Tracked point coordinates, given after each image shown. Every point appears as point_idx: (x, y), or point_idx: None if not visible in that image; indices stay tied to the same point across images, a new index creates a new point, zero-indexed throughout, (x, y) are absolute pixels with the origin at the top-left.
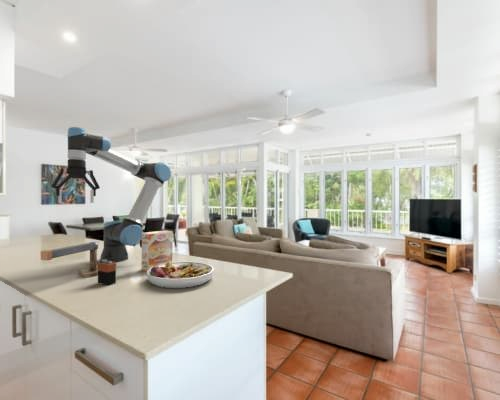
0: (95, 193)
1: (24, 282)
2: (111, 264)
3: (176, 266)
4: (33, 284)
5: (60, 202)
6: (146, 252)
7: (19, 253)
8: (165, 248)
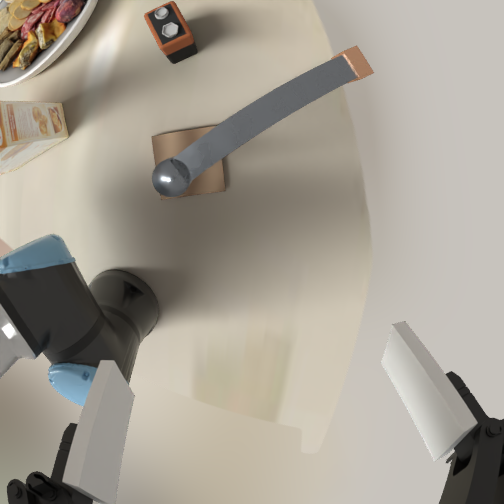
0: (61, 447)
1: (350, 175)
2: (160, 6)
3: (12, 72)
4: (336, 141)
5: (402, 324)
6: (31, 112)
7: (309, 426)
8: None
